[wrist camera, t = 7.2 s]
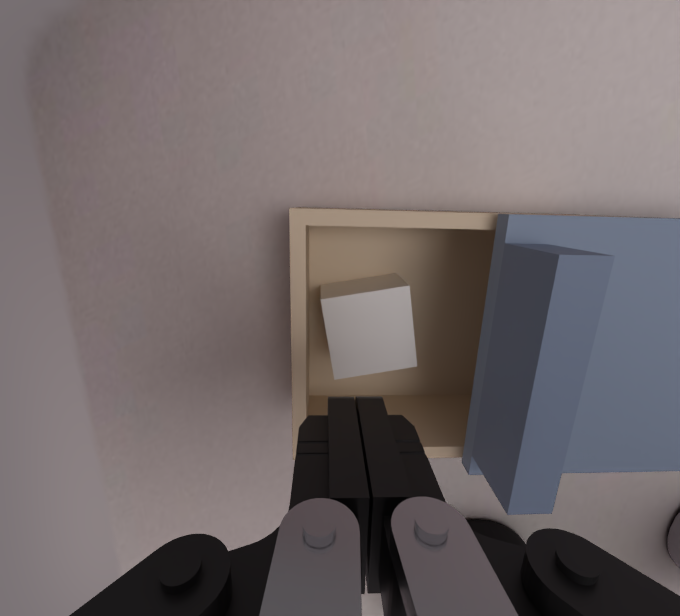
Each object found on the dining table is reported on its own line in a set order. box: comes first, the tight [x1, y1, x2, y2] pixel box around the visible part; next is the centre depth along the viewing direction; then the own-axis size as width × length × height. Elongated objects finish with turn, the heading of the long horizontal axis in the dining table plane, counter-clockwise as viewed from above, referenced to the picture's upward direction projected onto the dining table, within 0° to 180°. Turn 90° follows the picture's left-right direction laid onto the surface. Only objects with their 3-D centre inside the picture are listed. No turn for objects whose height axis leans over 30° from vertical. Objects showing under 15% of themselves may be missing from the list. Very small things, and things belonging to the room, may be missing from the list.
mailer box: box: [289, 207, 647, 460], centre depth 17 cm, size 14×11×5 cm
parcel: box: [321, 273, 417, 380], centre depth 18 cm, size 4×4×3 cm
